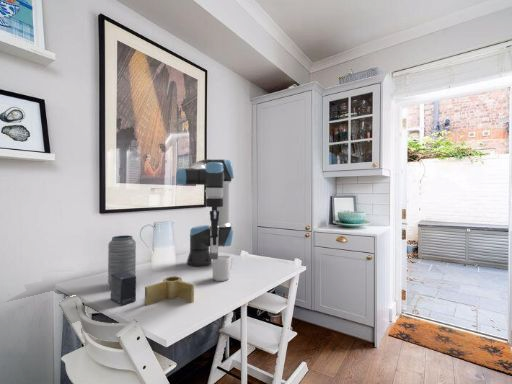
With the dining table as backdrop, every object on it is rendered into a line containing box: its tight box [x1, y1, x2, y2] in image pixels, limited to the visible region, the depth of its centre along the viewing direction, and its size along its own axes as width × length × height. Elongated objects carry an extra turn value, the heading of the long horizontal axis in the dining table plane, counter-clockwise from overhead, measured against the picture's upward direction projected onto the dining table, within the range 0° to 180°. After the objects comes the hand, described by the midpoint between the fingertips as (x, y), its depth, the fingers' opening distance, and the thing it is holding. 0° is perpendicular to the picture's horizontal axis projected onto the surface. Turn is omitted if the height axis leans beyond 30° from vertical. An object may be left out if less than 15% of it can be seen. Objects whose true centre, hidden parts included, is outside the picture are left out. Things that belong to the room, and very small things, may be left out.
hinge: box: [144, 275, 195, 306], centre depth 113 cm, size 13×19×7 cm
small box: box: [109, 271, 137, 307], centre depth 110 cm, size 11×6×10 cm, turn 48°
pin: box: [209, 225, 219, 260], centre depth 118 cm, size 4×4×14 cm
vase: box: [107, 234, 137, 286], centre depth 128 cm, size 12×12×23 cm
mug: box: [212, 254, 234, 282], centre depth 139 cm, size 12×9×11 cm
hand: (214, 251), depth 118 cm, fingers closed on pin, 3 cm apart
